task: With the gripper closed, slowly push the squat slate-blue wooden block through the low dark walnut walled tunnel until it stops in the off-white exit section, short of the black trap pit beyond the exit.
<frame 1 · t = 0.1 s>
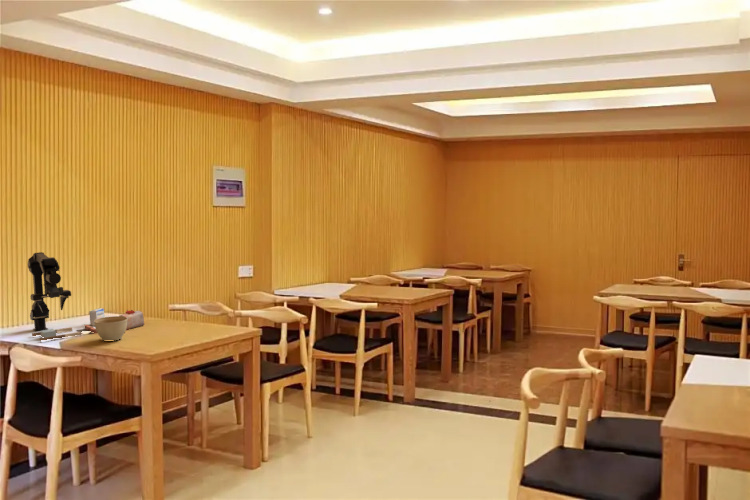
hand: (52, 311, 367), 15 cm above the table, fingers open, 9 cm apart
food item: (131, 328, 391), on the table
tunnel: (56, 336, 373), on the table
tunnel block: (48, 338, 371), on the table
medicine box: (97, 324, 401), on the table
planter bowl: (112, 340, 362), on the table
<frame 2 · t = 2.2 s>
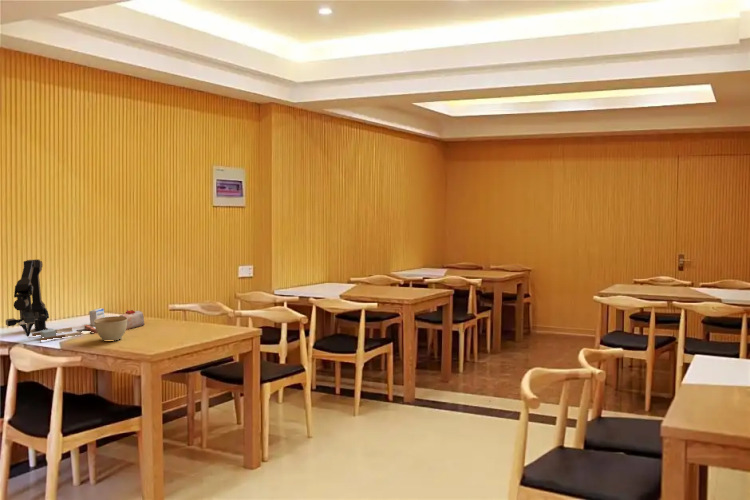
hand: (27, 336, 364), 3 cm above the table, fingers closed
nothing on the table moved.
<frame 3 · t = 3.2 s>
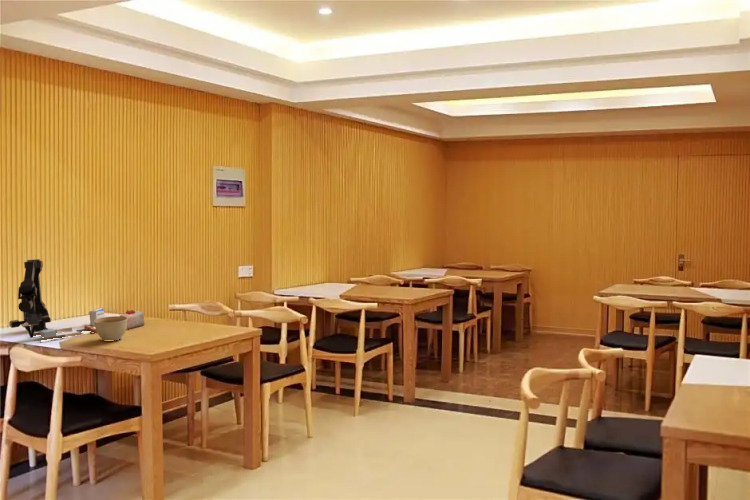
hand: (31, 337, 366), 1 cm above the table, fingers closed
nothing on the table moved.
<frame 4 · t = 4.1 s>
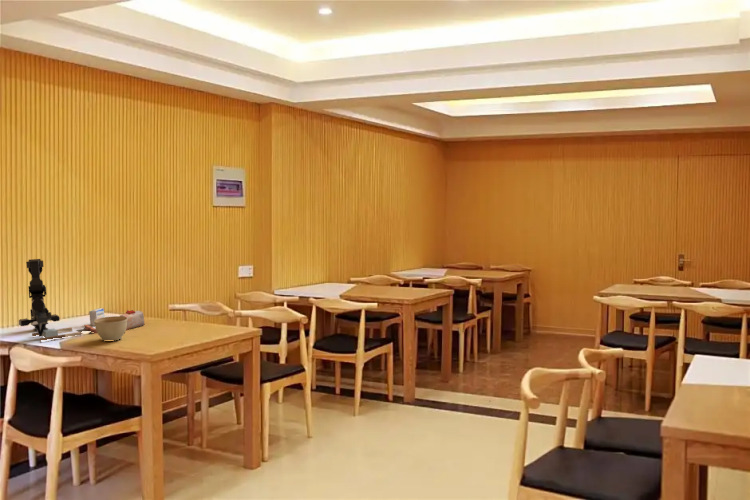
hand: (40, 336, 368), 1 cm above the table, fingers closed
nothing on the table moved.
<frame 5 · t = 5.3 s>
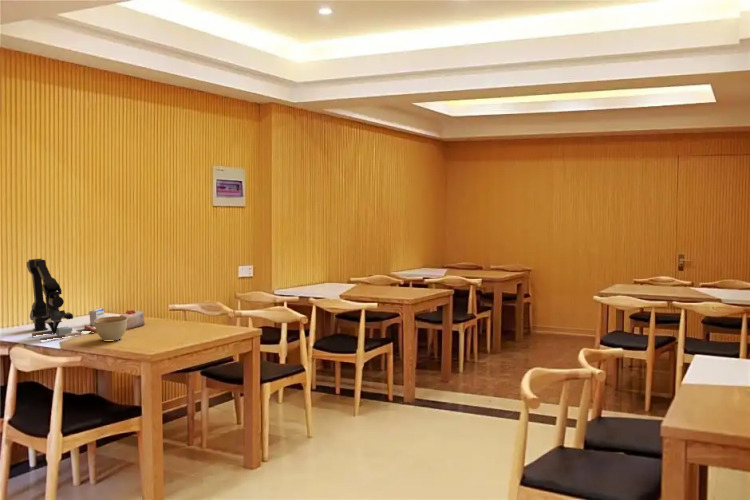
hand: (54, 334, 373), 2 cm above the table, fingers closed
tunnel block: (63, 335, 375), on the table, touching gripper
everything else where it was.
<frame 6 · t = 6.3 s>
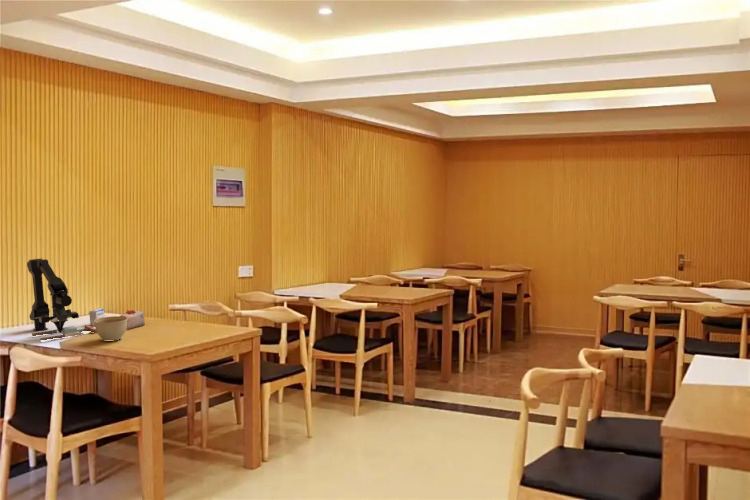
hand: (60, 333, 374), 2 cm above the table, fingers closed
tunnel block: (69, 335, 377), on the table
everything else where it was.
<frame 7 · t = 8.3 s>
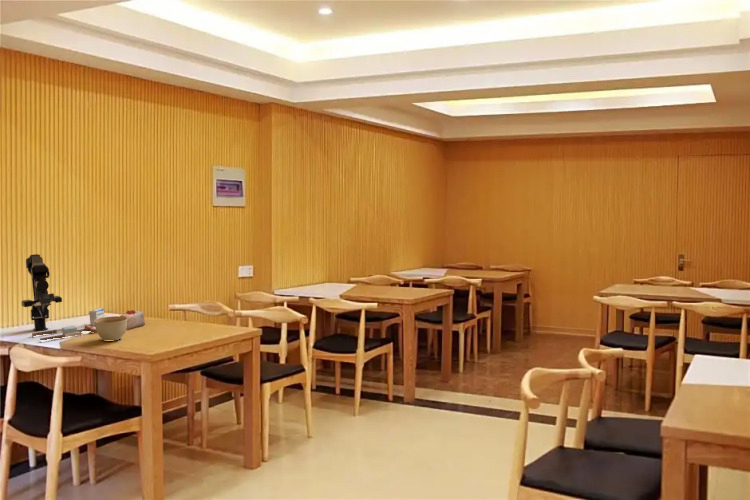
hand: (43, 317, 372), 11 cm above the table, fingers closed
nothing on the table moved.
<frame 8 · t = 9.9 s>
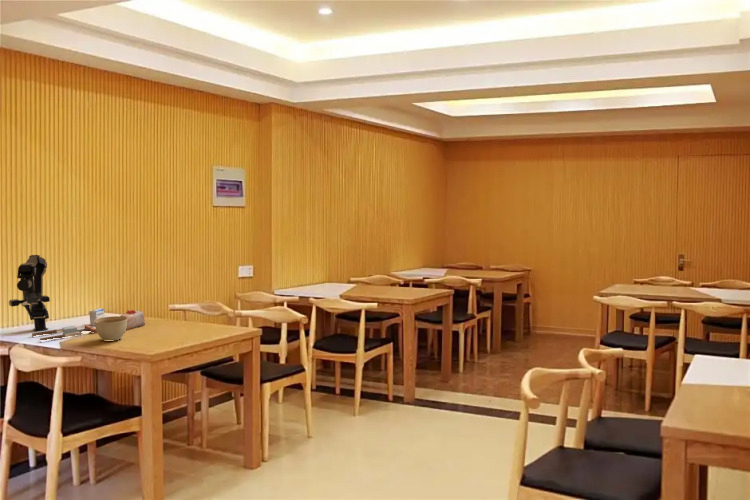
hand: (30, 316, 372), 11 cm above the table, fingers closed
nothing on the table moved.
at the end: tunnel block inside the target area (0.6 cm from its centre), on the table; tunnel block tilted 0° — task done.
